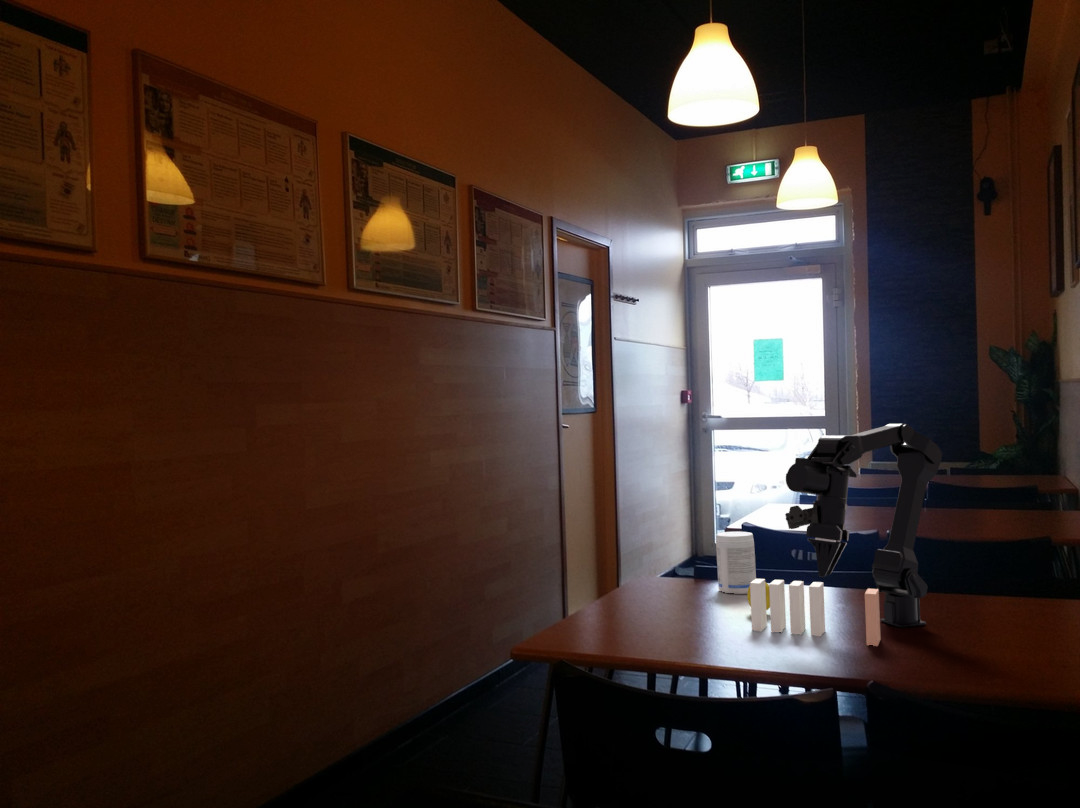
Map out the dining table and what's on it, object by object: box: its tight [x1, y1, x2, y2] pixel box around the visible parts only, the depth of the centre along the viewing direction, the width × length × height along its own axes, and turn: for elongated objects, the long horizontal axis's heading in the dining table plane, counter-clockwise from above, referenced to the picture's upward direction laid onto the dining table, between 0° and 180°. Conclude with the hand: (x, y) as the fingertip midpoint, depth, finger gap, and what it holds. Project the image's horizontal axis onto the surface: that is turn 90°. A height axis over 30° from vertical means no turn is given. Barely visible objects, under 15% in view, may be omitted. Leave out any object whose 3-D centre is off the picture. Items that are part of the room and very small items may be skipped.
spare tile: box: [864, 588, 882, 647], centre depth 168 cm, size 2×5×10 cm, turn 152°
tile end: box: [750, 578, 768, 632], centre depth 182 cm, size 2×5×10 cm, turn 152°
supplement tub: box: [715, 531, 757, 595], centre depth 219 cm, size 10×10×15 cm
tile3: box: [788, 580, 806, 635], centre depth 178 cm, size 2×5×10 cm, turn 153°
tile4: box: [768, 579, 787, 633], centre depth 180 cm, size 2×5×10 cm, turn 152°
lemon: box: [746, 581, 770, 611], centre depth 194 cm, size 6×6×8 cm
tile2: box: [808, 581, 826, 637], centre depth 176 cm, size 2×5×10 cm, turn 152°
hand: (824, 575), depth 171 cm, fingers open, 9 cm apart
